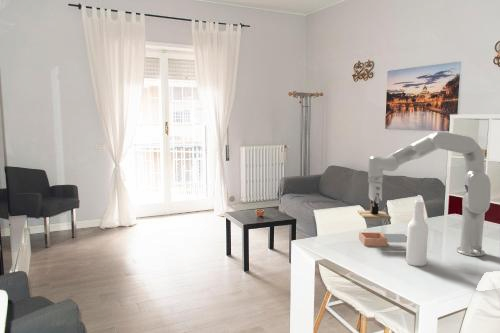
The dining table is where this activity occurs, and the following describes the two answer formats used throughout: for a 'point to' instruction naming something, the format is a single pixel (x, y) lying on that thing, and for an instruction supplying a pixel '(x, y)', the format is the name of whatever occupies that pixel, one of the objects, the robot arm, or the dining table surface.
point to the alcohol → (417, 237)
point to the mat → (396, 237)
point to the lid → (374, 216)
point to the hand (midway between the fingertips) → (373, 212)
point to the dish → (372, 239)
